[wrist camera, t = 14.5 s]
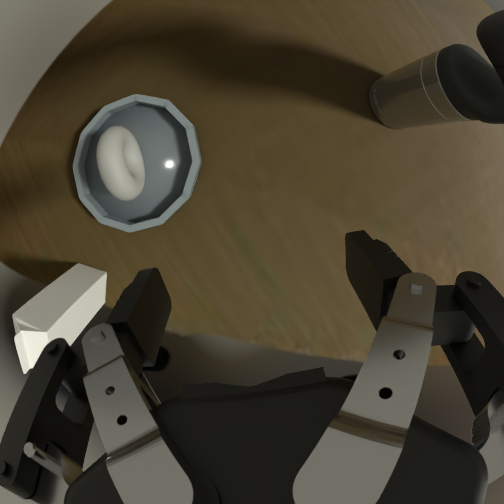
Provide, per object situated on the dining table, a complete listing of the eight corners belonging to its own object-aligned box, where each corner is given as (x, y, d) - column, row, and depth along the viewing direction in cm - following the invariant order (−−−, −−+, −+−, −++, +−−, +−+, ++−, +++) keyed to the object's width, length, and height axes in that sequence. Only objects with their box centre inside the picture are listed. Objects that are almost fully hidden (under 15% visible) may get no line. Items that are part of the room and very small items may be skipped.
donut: (118, 135, 33) (85, 127, 24) (139, 127, 33) (110, 115, 24) (133, 199, 36) (103, 210, 27) (154, 192, 36) (129, 201, 27)
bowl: (187, 85, 33) (184, 79, 30) (213, 209, 39) (211, 212, 36) (76, 126, 33) (66, 124, 30) (100, 237, 39) (91, 243, 36)
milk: (77, 292, 41) (7, 365, 20) (78, 261, 40) (-4, 326, 19) (106, 302, 42) (42, 385, 21) (108, 271, 40) (32, 347, 19)
